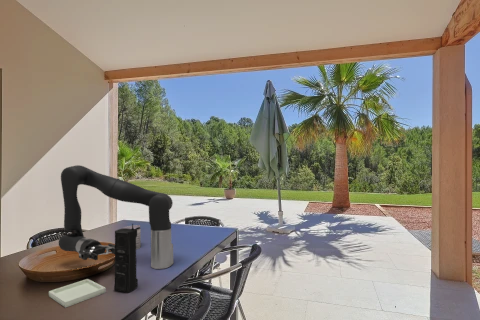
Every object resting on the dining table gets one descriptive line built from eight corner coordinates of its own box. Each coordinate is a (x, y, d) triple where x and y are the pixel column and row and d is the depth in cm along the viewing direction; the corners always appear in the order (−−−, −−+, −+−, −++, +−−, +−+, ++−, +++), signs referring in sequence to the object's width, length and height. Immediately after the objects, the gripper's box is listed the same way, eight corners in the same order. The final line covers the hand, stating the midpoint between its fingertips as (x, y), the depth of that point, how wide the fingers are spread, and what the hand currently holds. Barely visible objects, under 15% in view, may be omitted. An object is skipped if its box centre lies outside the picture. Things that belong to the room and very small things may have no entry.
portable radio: (110, 290, 113) (110, 224, 112) (122, 284, 118) (121, 221, 118) (127, 293, 110) (126, 226, 110) (138, 287, 115) (137, 222, 115)
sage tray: (87, 283, 120) (87, 278, 120) (105, 292, 111) (105, 287, 111) (48, 296, 109) (48, 291, 109) (65, 307, 100) (65, 302, 100)
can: (133, 251, 160) (133, 229, 160) (114, 250, 162) (114, 228, 162) (144, 245, 171) (144, 224, 171) (126, 244, 173) (126, 224, 173)
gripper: (71, 242, 126) (89, 249, 116) (104, 235, 137) (123, 241, 127) (71, 260, 126) (89, 269, 116) (104, 252, 137) (123, 259, 127)
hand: (107, 254), depth 121 cm, fingers open, 8 cm apart
